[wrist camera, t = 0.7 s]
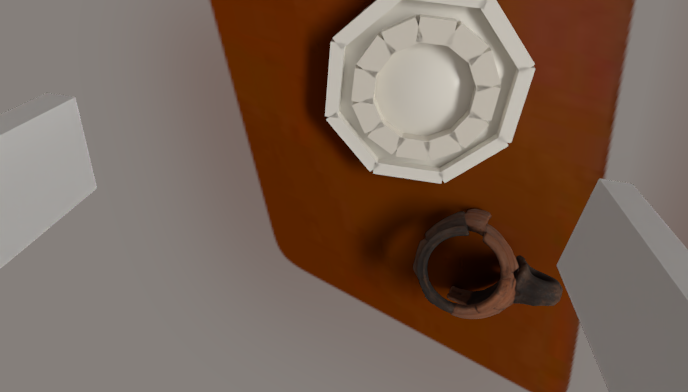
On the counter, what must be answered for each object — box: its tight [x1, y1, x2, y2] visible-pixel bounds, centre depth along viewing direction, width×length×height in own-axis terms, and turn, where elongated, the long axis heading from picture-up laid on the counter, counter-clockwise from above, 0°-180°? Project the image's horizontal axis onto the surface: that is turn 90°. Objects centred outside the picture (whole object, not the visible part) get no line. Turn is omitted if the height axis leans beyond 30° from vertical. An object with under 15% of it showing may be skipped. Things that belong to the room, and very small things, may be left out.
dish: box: [325, 0, 535, 184], centre depth 32 cm, size 14×14×2 cm
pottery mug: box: [413, 209, 563, 319], centre depth 37 cm, size 12×10×8 cm
